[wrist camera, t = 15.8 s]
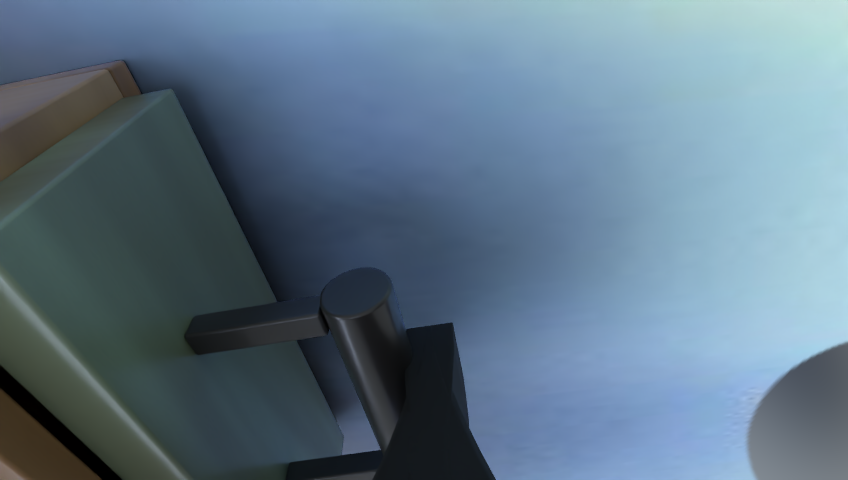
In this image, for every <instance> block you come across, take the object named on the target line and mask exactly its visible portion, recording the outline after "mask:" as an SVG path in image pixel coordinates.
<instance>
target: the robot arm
mask: <svg viewBox="0 0 848 480" xmlns="http://www.w3.org/2000/svg"><path fill="white" fill-rule="evenodd" d="M406 331H407V335H408V338H409V342H410V345H411V348H412V352H413V356H412V360H411V362H410V364H409V366H408V367H407V368H406V369H405V370H404V371H405V387H406V400H405V403H404V406H403V408H402V411H401V414H400V416H399V419H398V421H397V424H396V427H395V429H394V432H393V434H392V437H391V439H390V442H389V444H388V447H387V449H386V451H385V454H384V456H383V458H382V460H381V463H380V465H379V467H378V469H377V471H376V473H375V475H374V477H373V480H496V479H495V477H494V475H493V474H492V472H491V470H490V468H489V466H488V464H487V463H486V461H485V459H484V457H483V455H482V453H481V451H480V449H479V447H478V445H477V443H476V441H475V439H474V437H473V435H472V433H471V431H470V429H469V417H468V409H467V401H466V393H465V385H464V377H463V372H462V367H461V362H460V357H459V352H458V347H457V342H456V337H455V332H454V327H453V323H446V324H438V325H431V326H424V327H417V328H410V329H407V330H406Z"/></svg>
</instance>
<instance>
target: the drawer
mask: <svg viewBox="0 0 848 480" xmlns="http://www.w3.org/2000/svg"><path fill="white" fill-rule="evenodd" d="M329 329H330V331H331V334H332V336H333V338H334V341H335V343H336V345H337V348H338V350H339V352H340V355H341V357H342V359H343V362H344V364H345V367H346V369H347V371H348V374H349V376H350V378H351V381H352V383H353V385H354V388H355V390H356V392H357V395H358V397H359V399H360V402H361V404H362V406H363V409H364V411H365V413H366V416H367V418H368V421H369V423H370V425H371V428H372V430H373V432H374V435H375V437H376V439H377V442H378V444H379V446H380V449H381V450H377V451H370V452H362V453H355V454H347V455H342V447H343V439H344V436H343V434H342V432H341V430H340V428H339V426H338V424H337V422H336V420H335V418H334V416H333V414H332V411H331V409H330V407H329V405H328V403H327V401H326V399H325V397H324V395H323V393H322V391H321V389H320V387H319V385H318V383H317V381H316V379H315V377H314V375H313V373H312V371H311V369H310V367H309V365H308V363H307V361H306V359H305V357H304V355H303V353H302V351H301V349H300V347H299V345H298V343H297V341H296V340H302V339H308V338H315V337H321V336H326V335H328V333H329ZM412 356H413V352H412V348H411V345H410V342H409V338H408V335H407V331H406V328H405V325H404V321H403V318H402V314H401V311H400V307H399V304H398V301H397V297H396V294H395V290H394V287H393V284H392V281H391V279H390V277H389V276H388V275H387V274H386V273H385V272H383V271H381V270H379V269H376V268H368V267H366V268H357V269H352V270H349V271H346V272H344V273H342V274H340V275H338V276H337V277H335V278H334V279H332V280H331V281H330V282H329V283H328V284H327V285H326V286H325V288H324V289H323V291H322V293H321V295H319V296H313V297H306V298H300V299H294V300H288V301H282V302H277V300H276V298H275V296H274V294H273V292H272V290H271V288H270V286H269V284H268V282H267V280H266V278H265V276H264V274H263V272H262V270H261V268H260V265H259V263H258V261H257V259H256V257H255V255H254V253H253V251H252V249H251V247H250V245H249V243H248V241H247V239H246V237H245V235H244V233H243V231H242V229H241V227H240V225H239V223H238V221H237V219H236V217H235V215H234V213H233V211H232V209H231V207H230V205H229V203H228V201H227V199H226V197H225V195H224V192H223V190H222V188H221V186H220V184H219V182H218V180H217V178H216V176H215V174H214V172H213V170H212V168H211V166H210V164H209V162H208V160H207V158H206V156H205V154H204V152H203V150H202V148H201V146H200V144H199V142H198V140H197V138H196V136H195V134H194V132H193V130H192V128H191V126H190V124H189V122H188V120H187V117H186V115H185V113H184V111H183V109H182V107H181V105H180V103H179V101H178V99H177V97H176V95H175V93H174V91H173V90H172V89H165V90H160V91H155V92H150V93H145V94H140V95H135V96H130V97H125V98H122V99H120V100H119V101H117V102H116V103H114V104H113V105H111V106H110V107H109V108H107V109H106V110H104V111H103V112H101V113H100V114H98V115H97V116H95V117H94V118H93V119H91V120H90V121H88V122H87V123H85V124H84V125H82V126H81V127H80V128H78V129H77V130H75V131H74V132H72V133H71V134H69V135H68V136H66V137H65V138H64V139H62V140H61V141H59V142H58V143H56V144H55V145H53V146H52V147H50V148H49V149H48V150H46V151H45V152H43V153H42V154H40V155H39V156H37V157H36V158H35V159H33V160H32V161H30V162H29V163H27V164H26V165H24V166H23V167H21V168H20V169H19V170H17V171H16V172H14V173H13V174H11V175H10V176H8V177H7V178H5V179H4V180H3V181H1V182H0V388H1V389H2V390H3V391H4V392H5V393H7V394H8V395H9V396H10V397H11V398H12V399H13V400H14V401H15V402H17V403H18V404H19V405H20V406H21V407H22V408H23V409H24V410H25V411H27V412H28V413H29V414H30V415H31V416H32V417H33V418H34V419H36V420H37V421H38V422H39V423H40V424H41V425H42V426H43V427H44V428H46V429H47V430H48V431H49V432H50V433H51V434H52V435H53V436H54V437H56V438H57V439H58V440H59V441H60V442H61V443H62V444H63V445H64V446H66V447H67V448H68V449H69V450H70V451H71V452H72V453H73V454H74V455H76V456H77V457H78V458H79V459H80V460H81V461H82V462H83V463H85V464H86V465H87V466H88V467H89V468H90V469H91V470H92V471H93V472H95V473H96V474H97V475H98V476H99V477H100V478H101V479H102V480H373V477H374V475H375V473H376V471H377V469H378V467H379V465H380V463H381V460H382V458H383V456H384V454H385V451H386V449H387V447H388V444H389V442H390V439H391V437H392V434H393V432H394V429H395V427H396V424H397V421H398V419H399V416H400V414H401V411H402V408H403V406H404V403H405V400H406V387H405V371H404V370H405V369H406V368H407V367H408V366H409V364H410V362H411V360H412Z"/></svg>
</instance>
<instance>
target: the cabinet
mask: <svg viewBox="0 0 848 480" xmlns="http://www.w3.org/2000/svg"><path fill="white" fill-rule="evenodd" d="M140 94H141V92H140V90H139V88H138V86H137V84H136V83H135V81H134V79H133V77H132V75H131V73H130V71H129V69H128V68H127V66H126V64H125V62H124V61H120V60H119V61H114V62H109V63H105V64H100V65H95V66H90V67H85V68H81V69H76V70H71V71H66V72H62V73H57V74H52V75H47V76H42V77H38V78H33V79H28V80H23V81H19V82H14V83H9V84H4V85H0V182H1V181H3V180H4V179H5V178H7V177H8V176H10V175H11V174H13V173H14V172H16V171H17V170H19V169H20V168H21V167H23V166H24V165H26V164H27V163H29V162H30V161H32V160H33V159H35V158H36V157H37V156H39V155H40V154H42V153H43V152H45V151H46V150H48V149H49V148H50V147H52V146H53V145H55V144H56V143H58V142H59V141H61V140H62V139H64V138H65V137H66V136H68V135H69V134H71V133H72V132H74V131H75V130H77V129H78V128H80V127H81V126H82V125H84V124H85V123H87V122H88V121H90V120H91V119H93V118H94V117H95V116H97V115H98V114H100V113H101V112H103V111H104V110H106V109H107V108H109V107H110V106H111V105H113V104H114V103H116V102H117V101H119V100H120V99H122V98H125V97H130V96H135V95H140ZM0 480H102V479H101V478H100V477H99V476H98V475H97V474H96V473H95V472H93V471H92V470H91V469H90V468H89V467H88V466H87V465H86V464H85V463H83V462H82V461H81V460H80V459H79V458H78V457H77V456H76V455H74V454H73V453H72V452H71V451H70V450H69V449H68V448H67V447H66V446H64V445H63V444H62V443H61V442H60V441H59V440H58V439H57V438H56V437H54V436H53V435H52V434H51V433H50V432H49V431H48V430H47V429H46V428H44V427H43V426H42V425H41V424H40V423H39V422H38V421H37V420H36V419H34V418H33V417H32V416H31V415H30V414H29V413H28V412H27V411H25V410H24V409H23V408H22V407H21V406H20V405H19V404H18V403H17V402H15V401H14V400H13V399H12V398H11V397H10V396H9V395H8V394H7V393H5V392H4V391H3V390H2V389H1V388H0Z"/></svg>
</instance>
